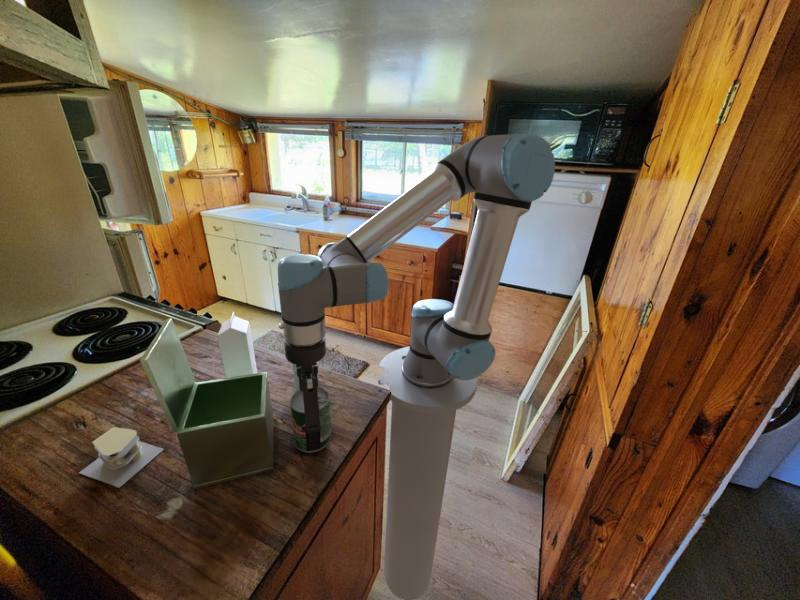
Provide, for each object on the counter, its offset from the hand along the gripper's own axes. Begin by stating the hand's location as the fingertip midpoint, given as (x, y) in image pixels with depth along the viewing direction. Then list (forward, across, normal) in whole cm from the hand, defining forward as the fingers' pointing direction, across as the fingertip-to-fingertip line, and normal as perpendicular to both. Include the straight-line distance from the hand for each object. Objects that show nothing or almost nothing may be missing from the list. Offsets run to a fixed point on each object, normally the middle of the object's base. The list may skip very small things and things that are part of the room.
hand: (310, 423), depth 69 cm
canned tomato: (+4, 0, 0) cm, 5 cm away
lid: (-17, -1, -22) cm, 28 cm away
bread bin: (+4, -1, -15) cm, 15 cm away
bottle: (+4, -17, 0) cm, 18 cm away
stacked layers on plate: (+5, -5, -36) cm, 36 cm away
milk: (+5, -20, -15) cm, 25 cm away
